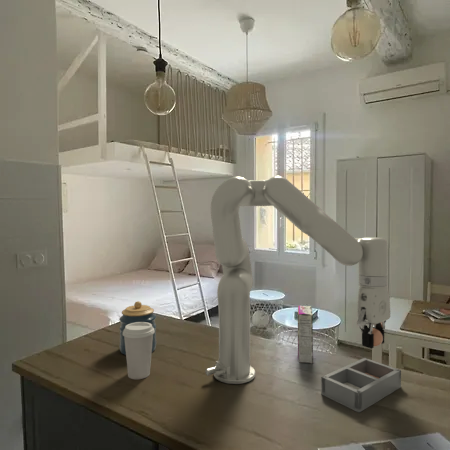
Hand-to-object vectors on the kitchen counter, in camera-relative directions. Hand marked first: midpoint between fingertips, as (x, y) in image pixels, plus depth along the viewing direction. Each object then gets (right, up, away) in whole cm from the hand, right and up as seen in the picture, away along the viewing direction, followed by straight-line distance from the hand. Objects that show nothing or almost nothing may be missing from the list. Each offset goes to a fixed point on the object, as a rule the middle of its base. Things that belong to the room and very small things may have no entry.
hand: (373, 343), depth 99 cm
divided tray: (-4, -12, -3) cm, 13 cm away
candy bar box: (-15, -12, +21) cm, 28 cm away
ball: (0, +2, 0) cm, 2 cm away
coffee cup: (-69, -12, +7) cm, 70 cm away
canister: (-74, -12, +27) cm, 80 cm away
